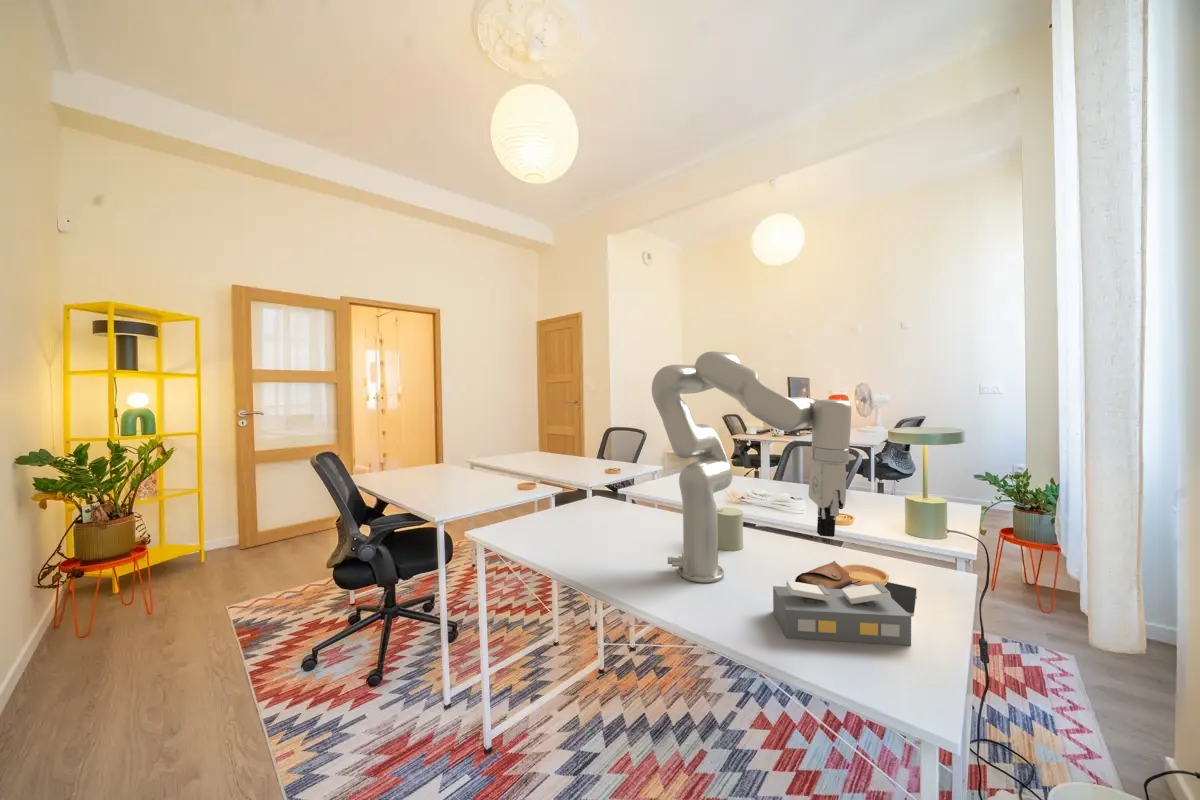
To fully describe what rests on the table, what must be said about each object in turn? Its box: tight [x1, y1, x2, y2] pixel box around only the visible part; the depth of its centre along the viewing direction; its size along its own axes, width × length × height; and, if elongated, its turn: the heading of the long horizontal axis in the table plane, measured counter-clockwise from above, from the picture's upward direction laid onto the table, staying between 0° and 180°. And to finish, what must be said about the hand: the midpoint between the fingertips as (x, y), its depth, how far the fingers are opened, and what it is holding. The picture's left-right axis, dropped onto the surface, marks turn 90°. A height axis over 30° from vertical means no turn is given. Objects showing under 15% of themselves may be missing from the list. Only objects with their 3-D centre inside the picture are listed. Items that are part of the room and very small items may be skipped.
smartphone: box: [884, 581, 918, 617], centre depth 108 cm, size 8×1×15 cm
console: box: [772, 585, 912, 647], centre depth 96 cm, size 24×11×7 cm, turn 82°
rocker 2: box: [842, 581, 891, 604], centre depth 95 cm, size 8×4×1 cm, turn 81°
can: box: [717, 507, 744, 552], centre depth 146 cm, size 9×9×12 cm
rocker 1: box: [785, 580, 832, 601], centre depth 97 cm, size 8×4×1 cm, turn 82°
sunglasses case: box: [794, 560, 854, 589], centre depth 118 cm, size 18×7×7 cm, turn 123°
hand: (825, 534), depth 100 cm, fingers closed
